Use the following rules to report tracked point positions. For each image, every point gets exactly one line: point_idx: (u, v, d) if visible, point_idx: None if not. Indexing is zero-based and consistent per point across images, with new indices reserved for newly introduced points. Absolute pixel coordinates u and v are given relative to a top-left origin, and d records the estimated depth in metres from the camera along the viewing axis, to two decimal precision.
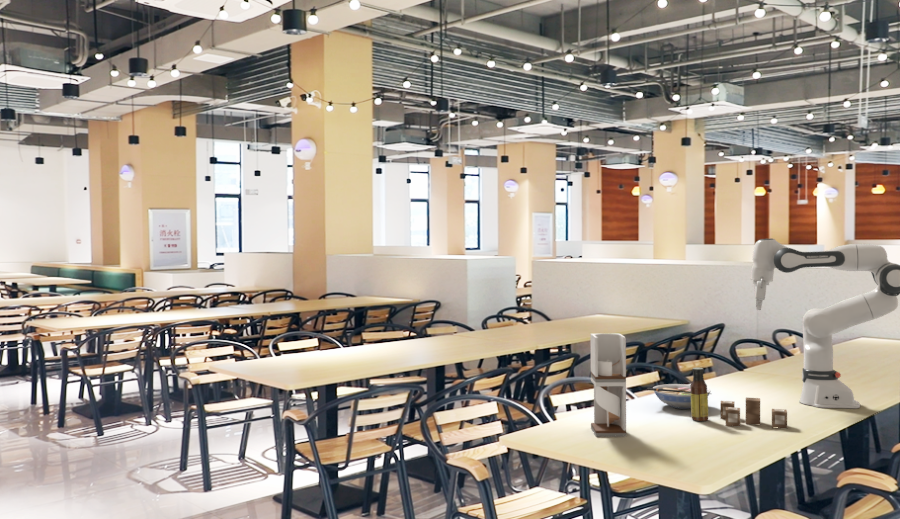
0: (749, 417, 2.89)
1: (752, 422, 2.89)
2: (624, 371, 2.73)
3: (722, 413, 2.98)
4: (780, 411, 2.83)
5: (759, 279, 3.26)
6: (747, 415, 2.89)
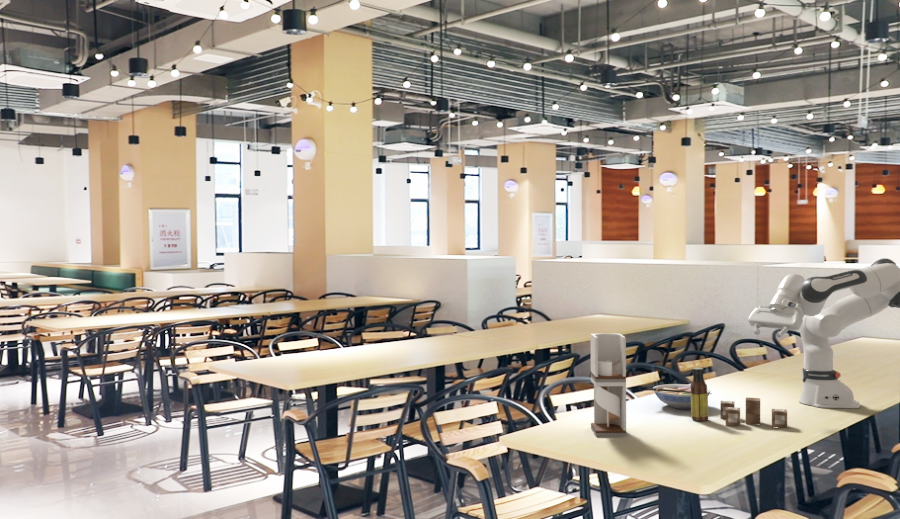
0: (749, 417, 2.89)
1: (752, 422, 2.89)
2: (624, 371, 2.73)
3: (722, 413, 2.98)
4: (780, 411, 2.83)
5: None
6: (747, 415, 2.89)
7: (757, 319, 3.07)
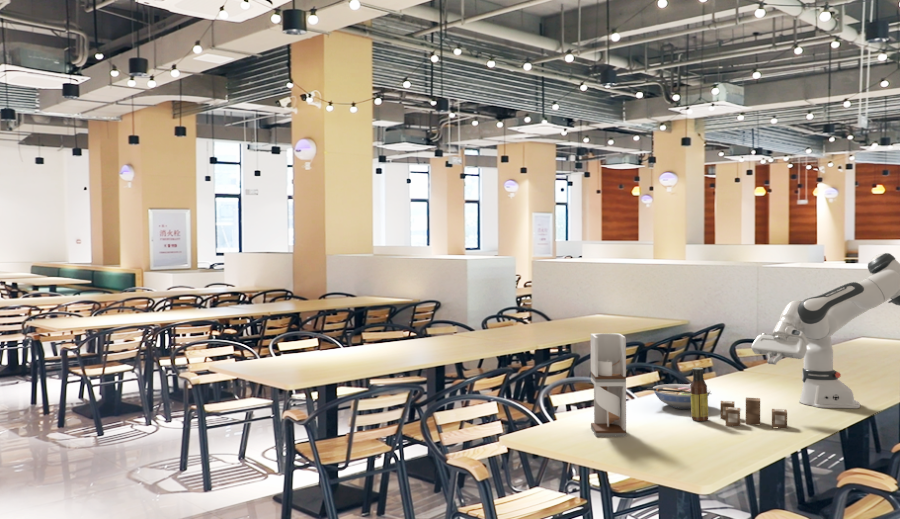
0: (749, 417, 2.89)
1: (752, 422, 2.89)
2: (624, 371, 2.73)
3: (722, 413, 2.98)
4: (780, 411, 2.83)
5: None
6: (747, 415, 2.89)
7: (760, 347, 3.03)
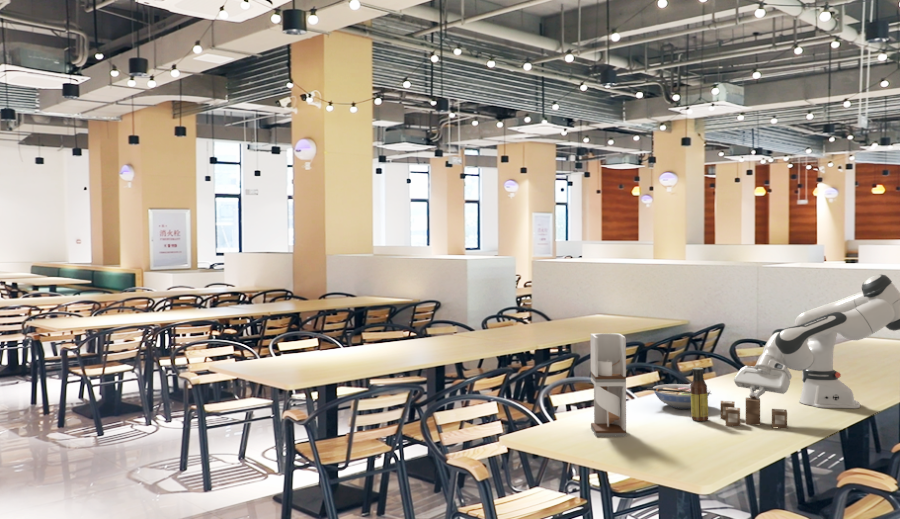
0: (749, 417, 2.89)
1: (752, 422, 2.89)
2: (624, 371, 2.73)
3: (722, 413, 2.98)
4: (780, 411, 2.83)
5: None
6: (747, 415, 2.89)
7: (743, 380, 2.97)
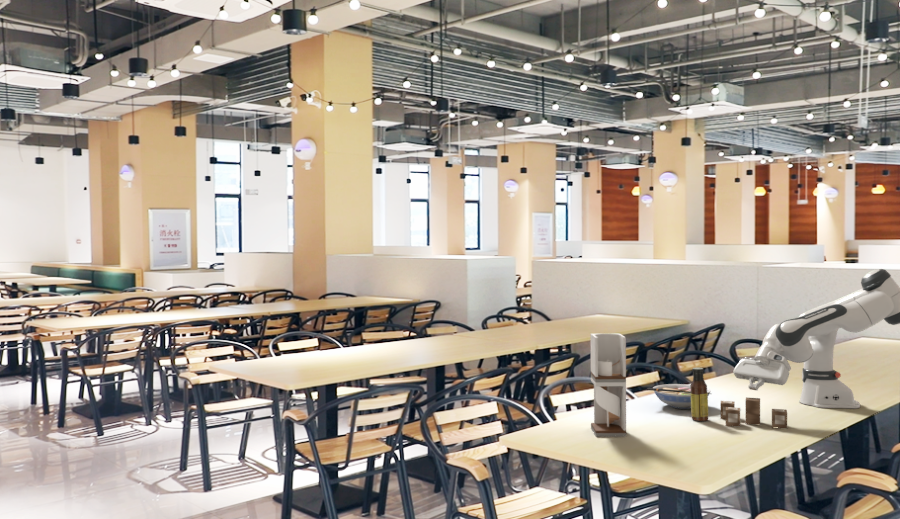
0: (749, 416, 2.89)
1: (752, 422, 2.89)
2: (624, 371, 2.73)
3: (722, 413, 2.98)
4: (780, 411, 2.83)
5: None
6: (747, 415, 2.89)
7: (742, 372, 2.97)
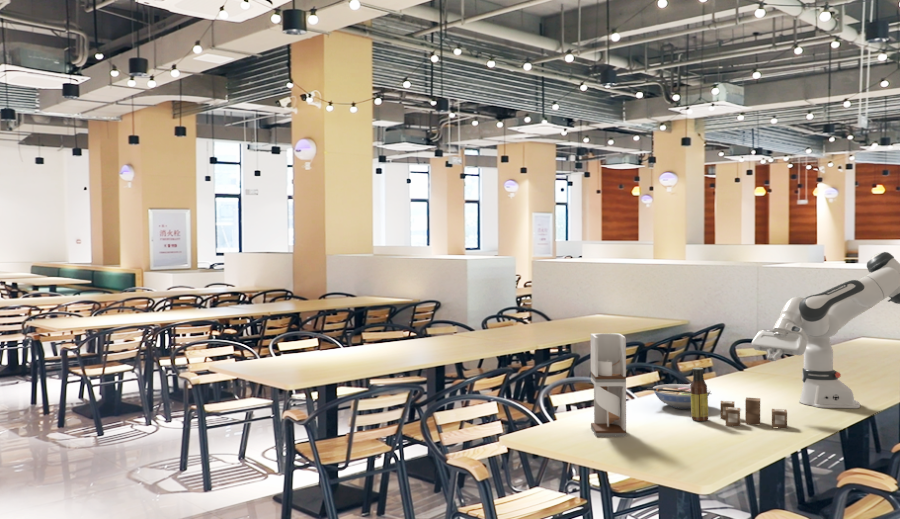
0: (749, 416, 2.89)
1: (752, 422, 2.89)
2: (624, 371, 2.73)
3: (722, 413, 2.98)
4: (780, 411, 2.83)
5: None
6: (747, 415, 2.89)
7: (761, 343, 3.04)
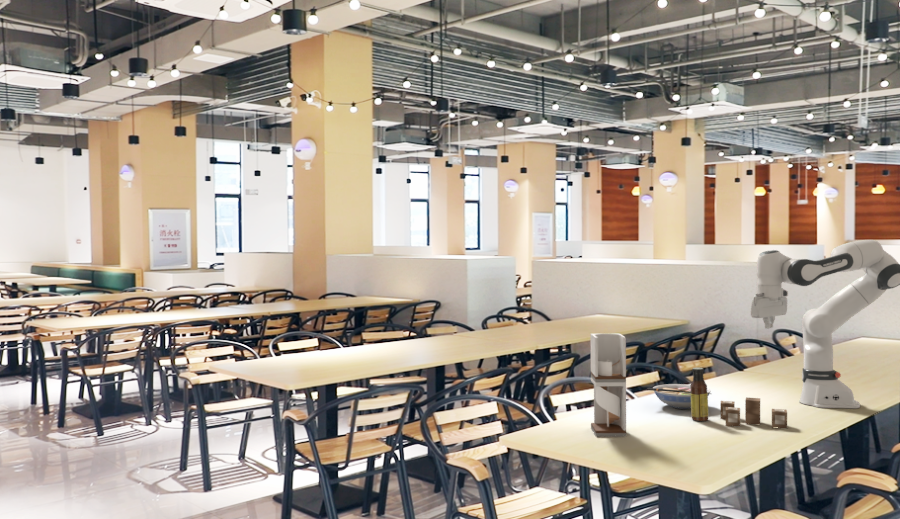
0: (749, 416, 2.89)
1: (752, 422, 2.89)
2: (624, 371, 2.73)
3: (722, 413, 2.98)
4: (780, 411, 2.83)
5: None
6: (747, 415, 2.89)
7: (765, 315, 2.96)
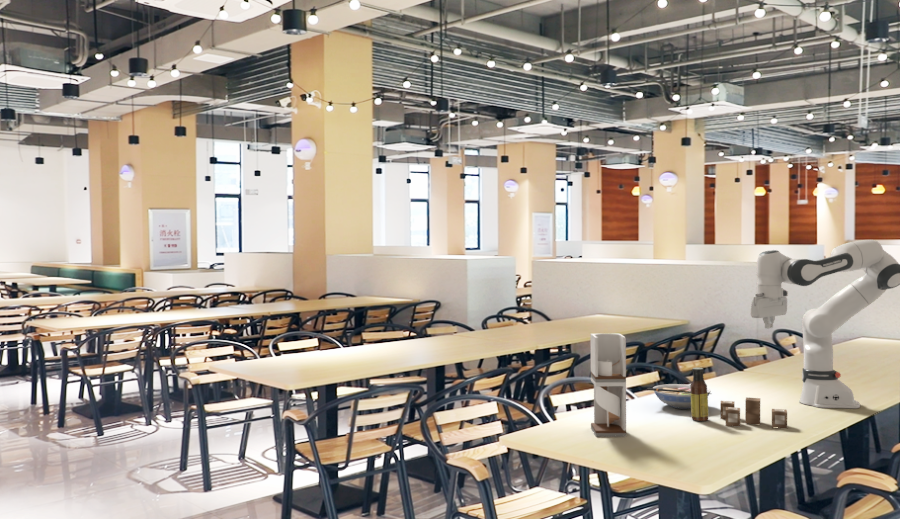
0: (749, 416, 2.89)
1: (752, 422, 2.89)
2: (624, 371, 2.73)
3: (722, 413, 2.98)
4: (780, 411, 2.83)
5: None
6: (747, 415, 2.89)
7: (765, 315, 2.96)
